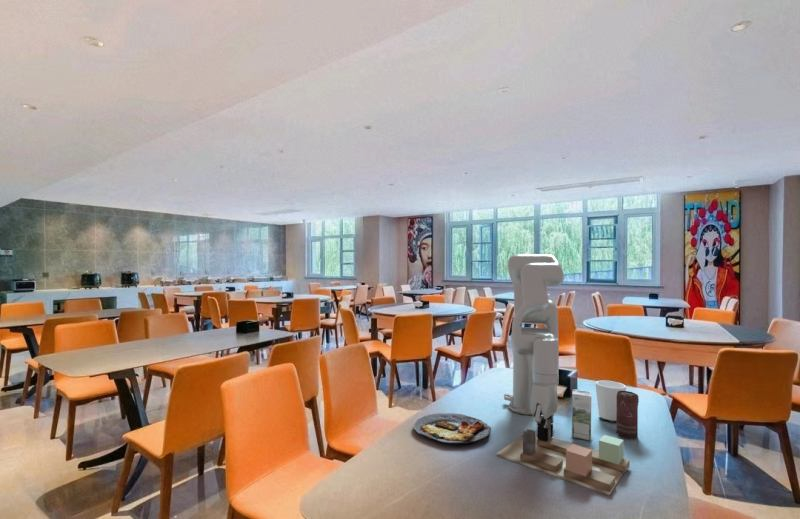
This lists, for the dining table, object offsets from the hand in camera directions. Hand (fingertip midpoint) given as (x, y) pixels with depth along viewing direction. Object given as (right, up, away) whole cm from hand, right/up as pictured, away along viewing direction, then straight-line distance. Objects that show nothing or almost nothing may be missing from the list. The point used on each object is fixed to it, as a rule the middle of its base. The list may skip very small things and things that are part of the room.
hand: (545, 437), depth 123 cm
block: (+2, 0, -19) cm, 19 cm away
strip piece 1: (-5, -2, -12) cm, 13 cm away
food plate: (-27, -3, +10) cm, 29 cm away
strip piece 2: (+4, -3, -20) cm, 21 cm away
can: (+30, -4, +9) cm, 32 cm away
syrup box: (+15, -3, +8) cm, 17 cm away
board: (+1, -3, -9) cm, 9 cm away
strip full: (+8, -2, -7) cm, 11 cm away
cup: (+32, -4, +23) cm, 40 cm away
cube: (+14, 0, -12) cm, 19 cm away
